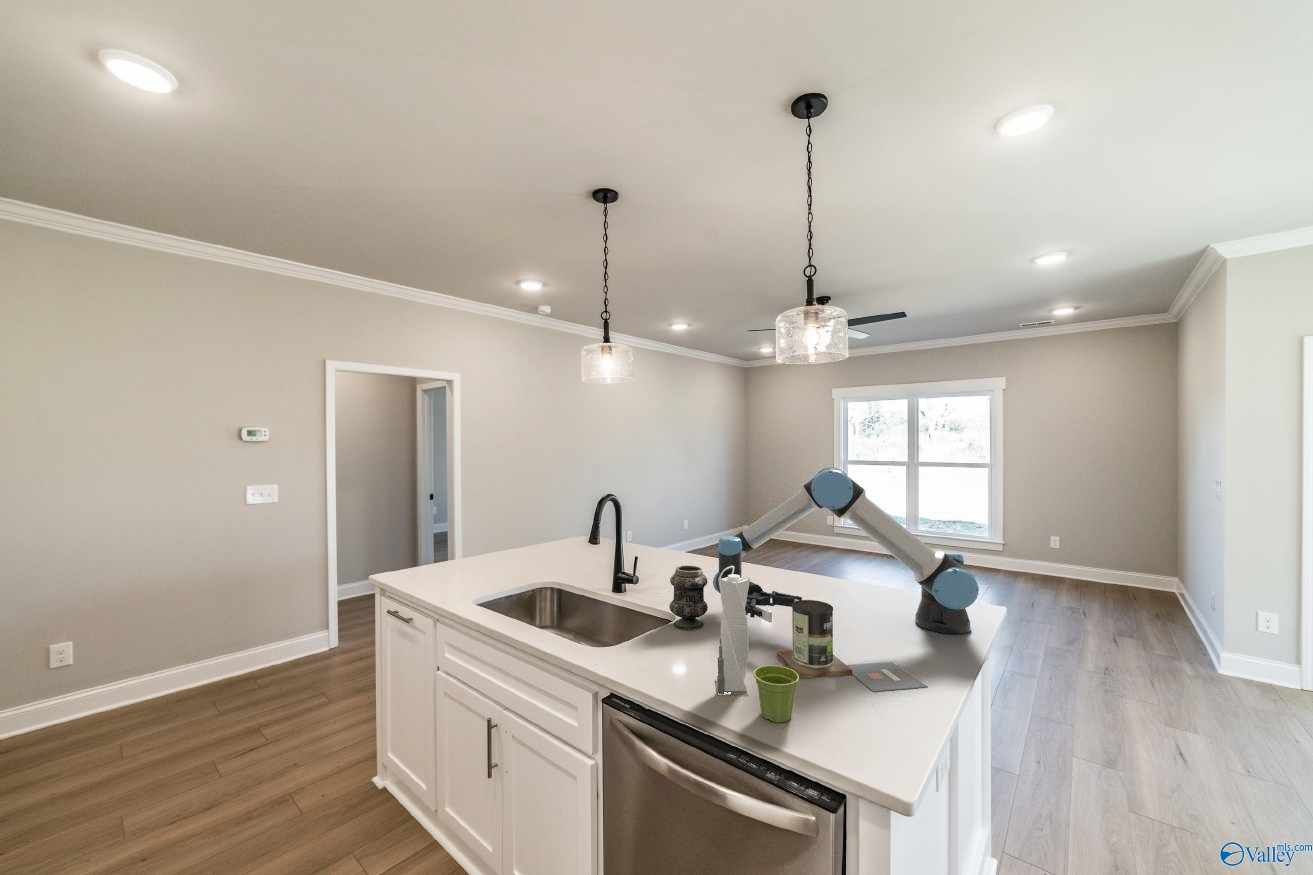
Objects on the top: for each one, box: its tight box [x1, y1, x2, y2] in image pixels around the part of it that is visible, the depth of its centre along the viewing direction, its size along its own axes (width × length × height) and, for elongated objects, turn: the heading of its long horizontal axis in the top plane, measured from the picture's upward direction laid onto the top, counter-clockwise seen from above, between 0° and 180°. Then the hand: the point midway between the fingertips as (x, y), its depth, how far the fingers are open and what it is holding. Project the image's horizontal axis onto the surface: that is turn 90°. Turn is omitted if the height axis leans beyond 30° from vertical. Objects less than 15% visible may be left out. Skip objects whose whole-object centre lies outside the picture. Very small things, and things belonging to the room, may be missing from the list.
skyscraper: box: [714, 566, 751, 696], centre depth 123 cm, size 8×8×28 cm
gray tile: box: [846, 661, 929, 693], centre depth 128 cm, size 14×14×1 cm
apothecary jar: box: [668, 564, 709, 631], centre depth 164 cm, size 12×12×18 cm
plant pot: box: [752, 664, 800, 723], centre depth 110 cm, size 9×9×9 cm
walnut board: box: [776, 649, 853, 680], centre depth 135 cm, size 14×14×1 cm
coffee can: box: [791, 599, 834, 668], centre depth 135 cm, size 10×10×14 cm
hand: (791, 613), depth 143 cm, fingers open, 13 cm apart
